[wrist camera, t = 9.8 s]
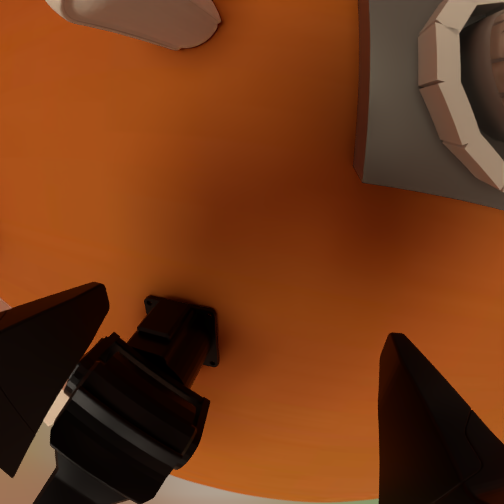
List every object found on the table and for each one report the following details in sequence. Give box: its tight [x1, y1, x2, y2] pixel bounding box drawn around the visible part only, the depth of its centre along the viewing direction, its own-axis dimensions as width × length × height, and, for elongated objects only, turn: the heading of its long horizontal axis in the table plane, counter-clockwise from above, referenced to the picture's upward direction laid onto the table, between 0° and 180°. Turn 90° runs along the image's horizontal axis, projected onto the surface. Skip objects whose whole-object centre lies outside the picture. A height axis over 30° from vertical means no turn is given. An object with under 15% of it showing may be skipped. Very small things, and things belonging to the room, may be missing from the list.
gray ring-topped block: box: [353, 0, 504, 210], centre depth 10 cm, size 12×14×8 cm
